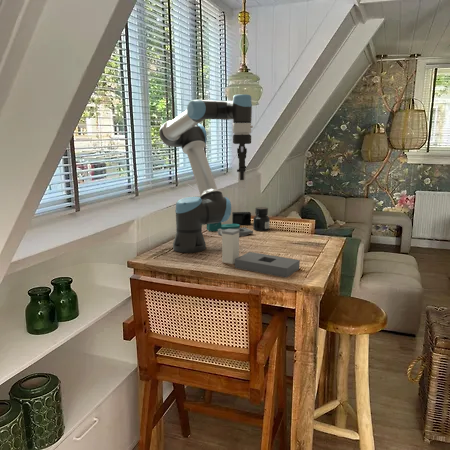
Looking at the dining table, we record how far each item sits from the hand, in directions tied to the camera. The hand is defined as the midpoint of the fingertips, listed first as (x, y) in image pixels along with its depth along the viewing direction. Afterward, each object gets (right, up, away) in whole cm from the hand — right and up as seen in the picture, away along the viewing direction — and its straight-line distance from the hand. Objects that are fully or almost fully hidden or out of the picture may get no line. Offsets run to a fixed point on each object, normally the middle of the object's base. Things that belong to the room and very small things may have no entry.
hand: (241, 185), depth 181 cm
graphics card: (-1, -22, +44) cm, 50 cm away
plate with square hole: (+9, -34, -12) cm, 37 cm away
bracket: (-8, -19, +58) cm, 61 cm away
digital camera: (+3, -16, +69) cm, 71 cm away
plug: (-5, -32, -4) cm, 33 cm away
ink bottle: (+13, -19, +57) cm, 61 cm away
